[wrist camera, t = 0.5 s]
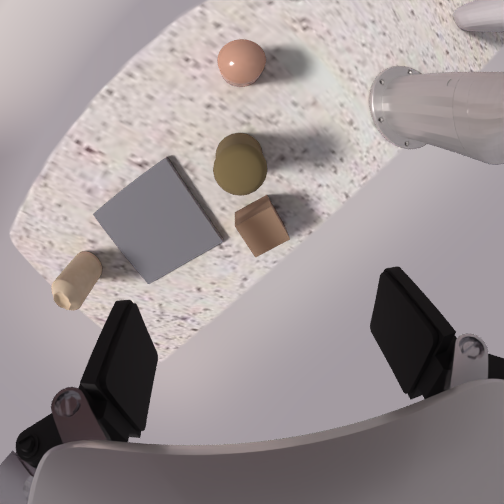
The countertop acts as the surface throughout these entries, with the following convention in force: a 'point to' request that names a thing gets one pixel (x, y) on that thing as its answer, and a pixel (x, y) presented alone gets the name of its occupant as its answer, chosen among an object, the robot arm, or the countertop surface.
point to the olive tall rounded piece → (239, 164)
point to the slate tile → (158, 222)
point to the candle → (76, 281)
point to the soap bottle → (481, 16)
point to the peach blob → (241, 62)
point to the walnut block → (260, 226)
